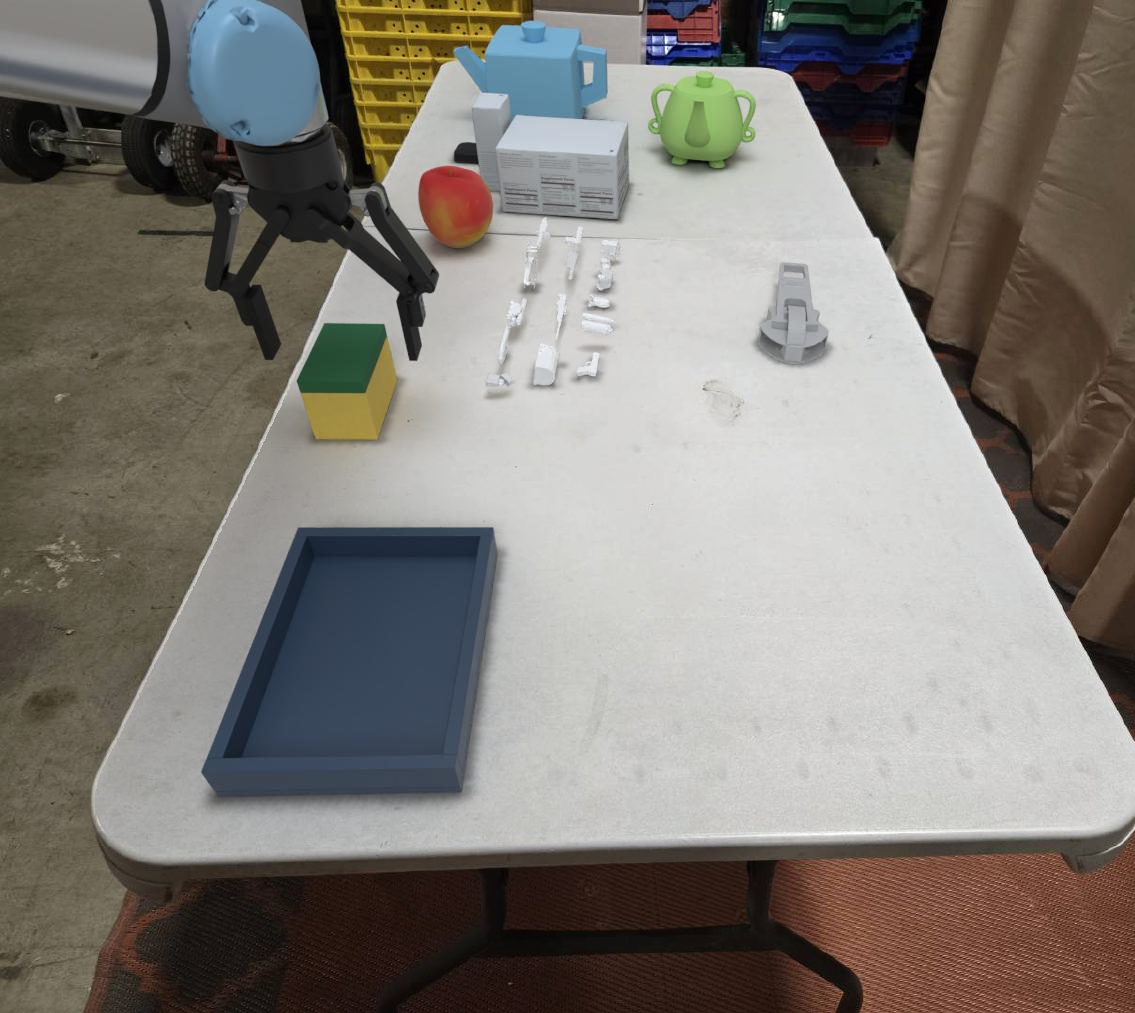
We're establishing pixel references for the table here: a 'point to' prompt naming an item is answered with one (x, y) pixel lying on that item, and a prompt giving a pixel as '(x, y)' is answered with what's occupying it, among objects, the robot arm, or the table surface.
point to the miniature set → (548, 353)
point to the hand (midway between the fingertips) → (344, 352)
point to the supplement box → (563, 166)
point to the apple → (455, 205)
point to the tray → (361, 666)
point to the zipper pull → (793, 320)
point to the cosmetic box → (490, 132)
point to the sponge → (348, 381)
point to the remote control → (466, 153)
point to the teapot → (702, 119)
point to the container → (539, 70)
